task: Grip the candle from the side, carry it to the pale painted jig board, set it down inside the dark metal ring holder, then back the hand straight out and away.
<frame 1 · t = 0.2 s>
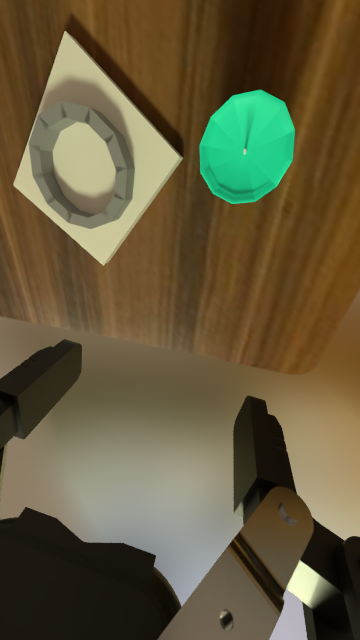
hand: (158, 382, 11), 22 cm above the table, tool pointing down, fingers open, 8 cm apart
candle: (245, 161, 24), on the table
jig plate: (95, 172, 28), on the table
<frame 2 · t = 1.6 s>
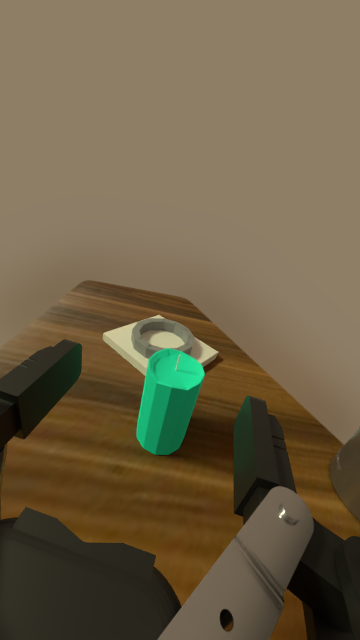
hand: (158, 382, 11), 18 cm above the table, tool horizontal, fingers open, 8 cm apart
candle: (160, 432, 29), on the table
jig plate: (160, 349, 44), on the table
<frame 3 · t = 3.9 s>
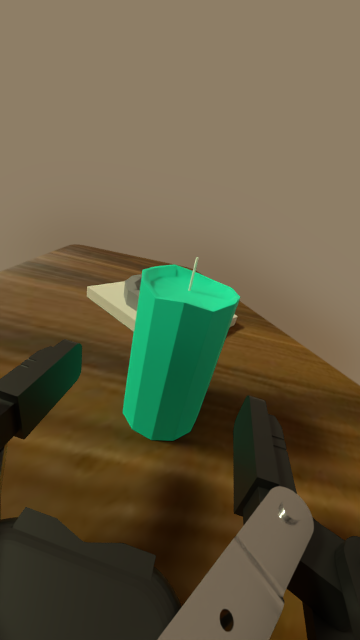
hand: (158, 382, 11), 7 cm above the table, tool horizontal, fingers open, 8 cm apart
candle: (160, 408, 19), on the table
jig plate: (162, 311, 34), on the table
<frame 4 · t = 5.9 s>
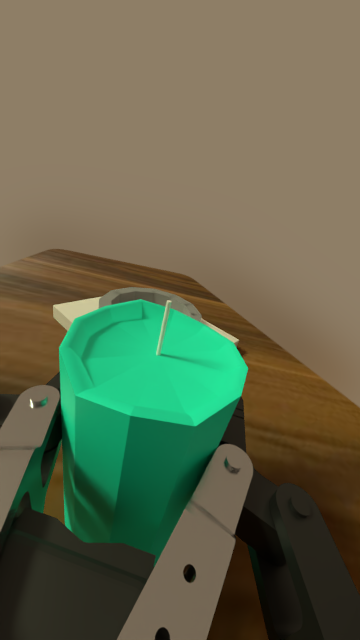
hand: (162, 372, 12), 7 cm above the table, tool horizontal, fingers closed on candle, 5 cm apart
candle: (126, 505, 13), on the table, touching gripper
jig plate: (147, 334, 28), on the table
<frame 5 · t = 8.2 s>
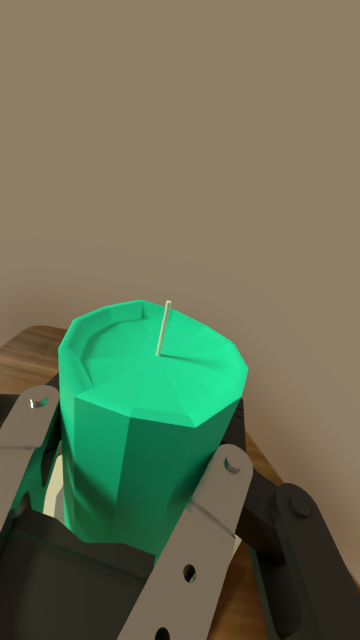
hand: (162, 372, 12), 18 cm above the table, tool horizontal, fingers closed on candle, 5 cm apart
candle: (126, 506, 13), point 11 cm above the table, touching gripper
jig plate: (125, 520, 21), on the table
when the fingers open (9 cm above the table, at t = 10.8 s): candle stays where it is, resting on jig plate.
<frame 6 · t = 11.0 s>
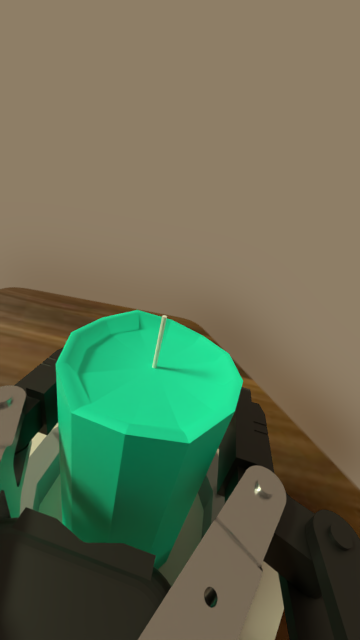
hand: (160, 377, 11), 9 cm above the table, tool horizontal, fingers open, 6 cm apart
candle: (124, 512, 13), point 1 cm above the table, touching jig plate
jig plate: (123, 521, 14), on the table
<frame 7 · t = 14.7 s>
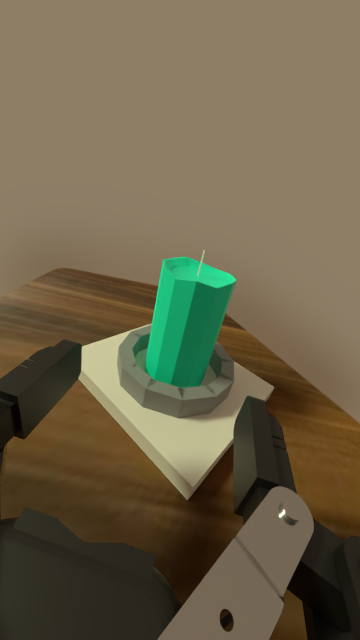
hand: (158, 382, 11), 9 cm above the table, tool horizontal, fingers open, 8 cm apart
candle: (173, 372, 24), point 1 cm above the table, touching jig plate
jig plate: (171, 381, 24), on the table
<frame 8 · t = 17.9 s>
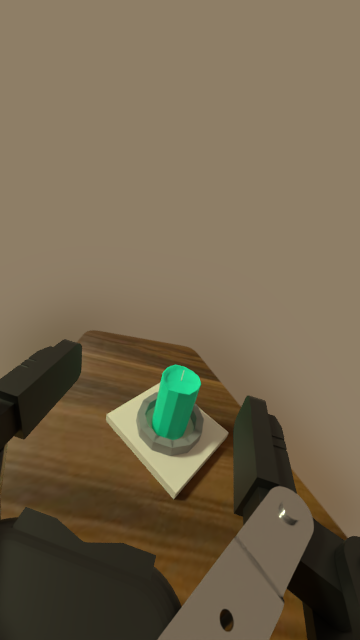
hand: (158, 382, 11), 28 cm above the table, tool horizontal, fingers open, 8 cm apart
candle: (168, 425, 40), point 1 cm above the table, touching jig plate
jig plate: (167, 429, 41), on the table
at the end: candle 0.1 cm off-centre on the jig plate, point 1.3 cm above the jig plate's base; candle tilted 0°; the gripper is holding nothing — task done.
